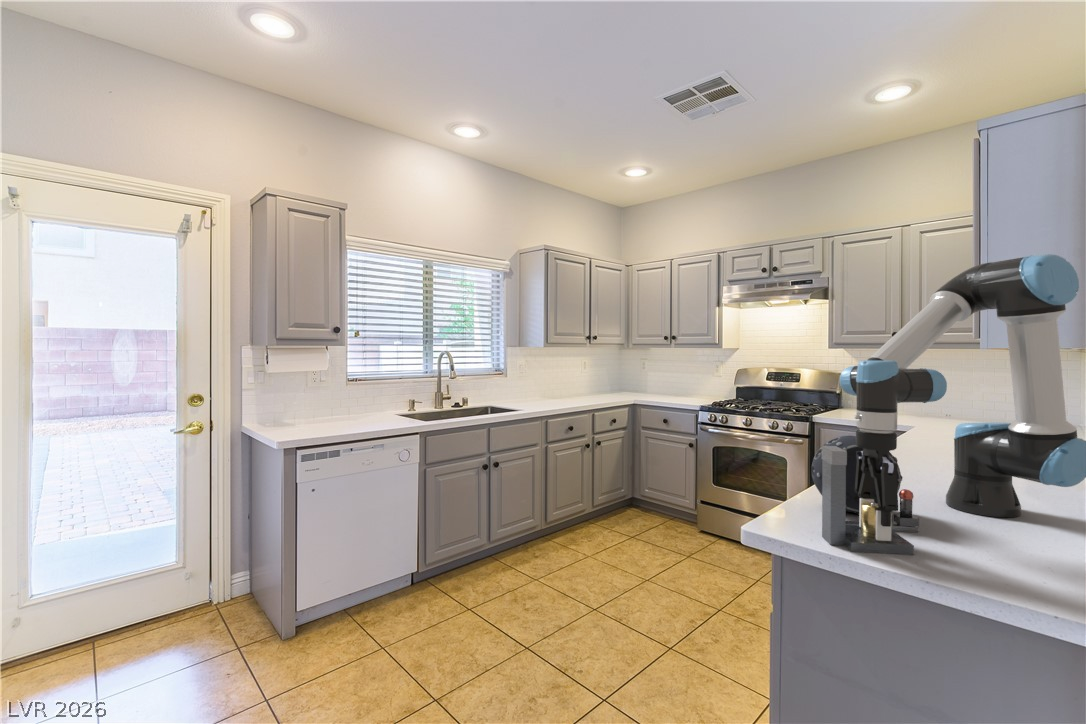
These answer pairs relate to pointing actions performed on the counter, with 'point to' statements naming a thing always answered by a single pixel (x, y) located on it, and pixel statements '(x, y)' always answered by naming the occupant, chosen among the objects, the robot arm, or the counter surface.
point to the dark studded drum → (847, 470)
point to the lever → (906, 510)
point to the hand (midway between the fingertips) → (874, 533)
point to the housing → (868, 519)
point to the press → (835, 512)
